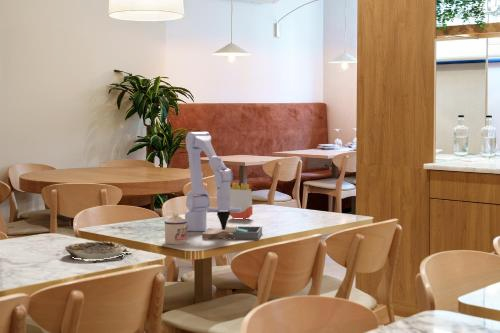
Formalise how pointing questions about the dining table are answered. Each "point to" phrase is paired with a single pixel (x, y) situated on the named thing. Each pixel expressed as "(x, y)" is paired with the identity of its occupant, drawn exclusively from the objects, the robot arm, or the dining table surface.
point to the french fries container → (241, 200)
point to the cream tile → (230, 228)
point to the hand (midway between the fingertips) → (223, 229)
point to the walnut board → (217, 233)
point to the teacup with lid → (175, 230)
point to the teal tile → (241, 230)
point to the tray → (248, 233)
